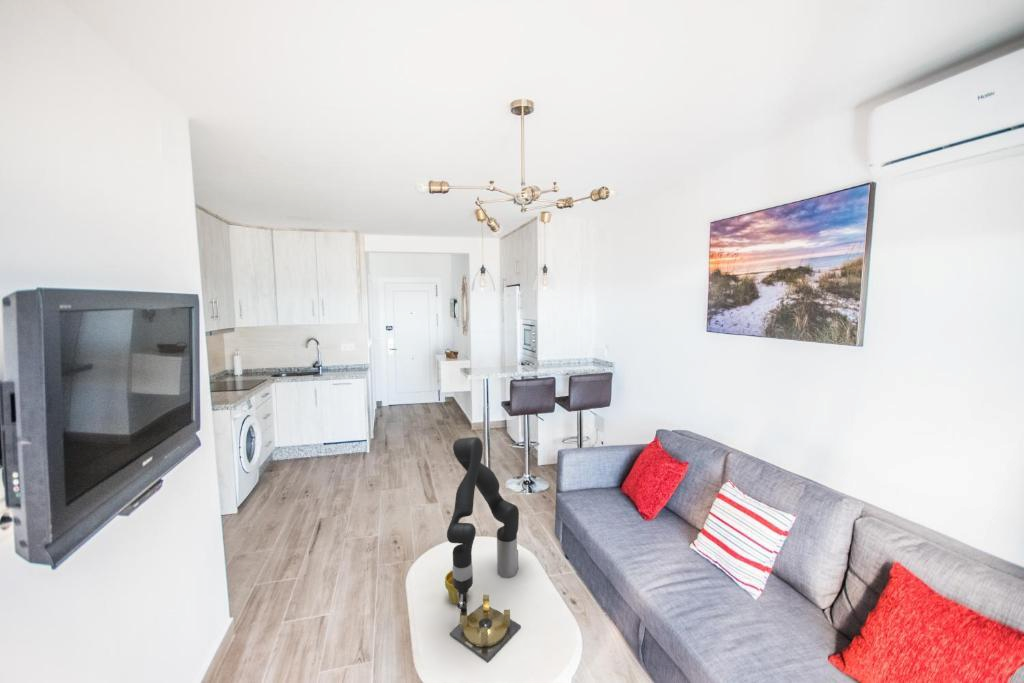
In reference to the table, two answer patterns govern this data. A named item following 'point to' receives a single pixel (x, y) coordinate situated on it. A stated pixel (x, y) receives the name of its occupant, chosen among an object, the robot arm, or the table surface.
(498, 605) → the table surface
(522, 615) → the table surface
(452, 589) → the plant pot
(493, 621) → the pegged brass disc
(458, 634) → the flange plate
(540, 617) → the table surface
